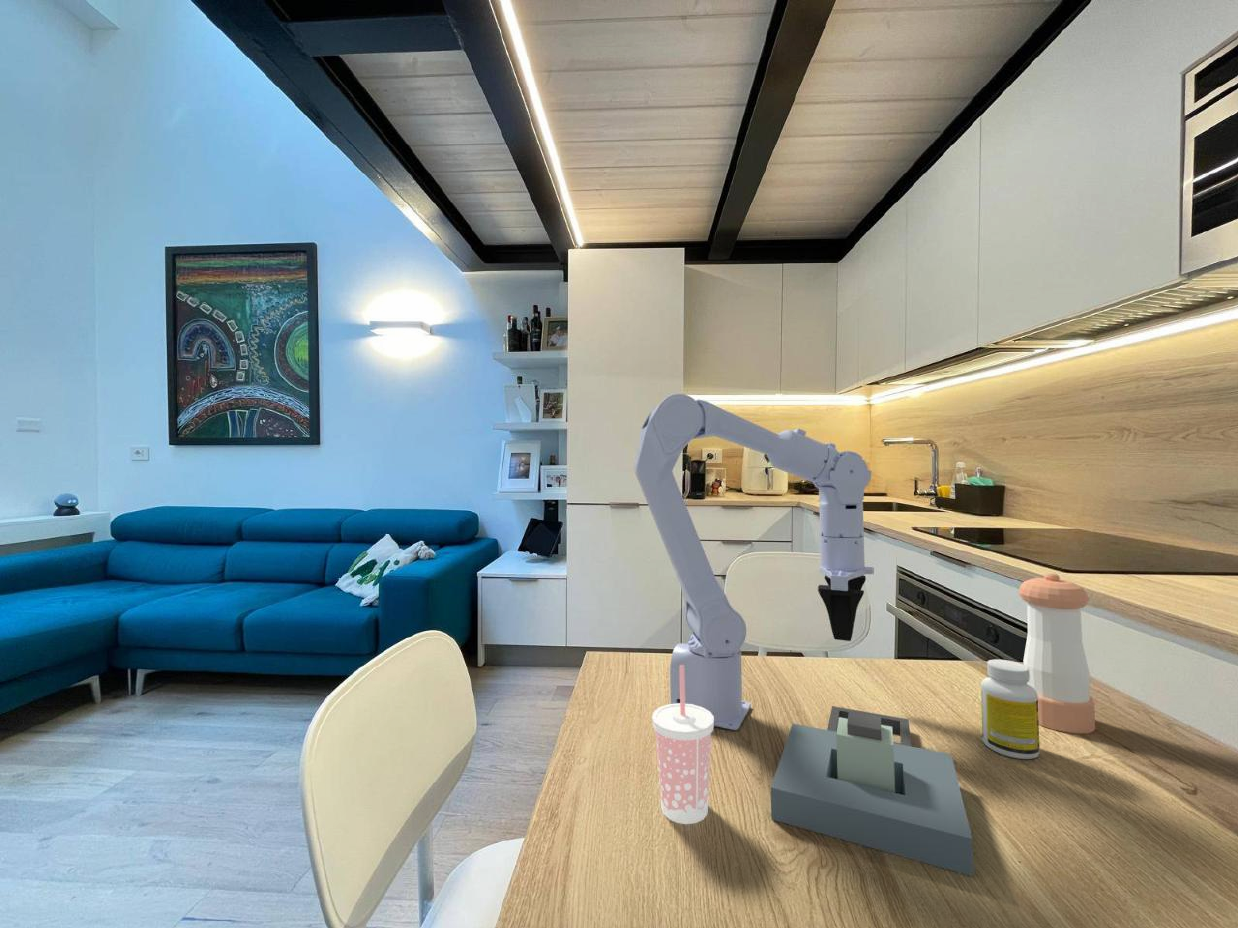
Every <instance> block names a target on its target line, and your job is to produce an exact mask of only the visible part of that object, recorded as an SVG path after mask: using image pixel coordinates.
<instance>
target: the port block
mask: <svg viewBox="0 0 1238 928" xmlns="http://www.w3.org/2000/svg"><path fill="white" fill-rule="evenodd" d="M836 734H837V732H834V731H829V730H827V729H822V728H817V727H814V726H813V727H812V726H808V725H803V724H799V723H792V725H791V727H790V731H789V733H788V737H787V740H786V742H785V744H784V748H783V750H782V752H781V757H780V759H779V761H778V766H777V767H776V770H775V774H774V776H773V778H772V779H773V780H772V783H771V785H770V820H772V821H776V822H779V823H783V824H787V825H789V826H793V827H798V828H800V829H805V830H807V831H812V832H814V833H819V834H822V835H825V836H829V837H833V838H835V839H838V840H842V841H846V842H850V843H853V844H857V845H861V846H863V847H868V848H870V849H875V850H879V851H882V852H885V853H889V854H893V855H896V856H899V857H903V858H906V859H910V860H914V861H917V862H920V863H924V864H928V865H931V866H935V867H938V868H942V869H945V870H949V871H952V872H956V873H960V874H963V875H965V876H966V875H967V876H970V877H973V878H974V875H975V873H974V872H975V870H974V849H973V848H974V846H973V845H974V843H973V836H972V832H971V828H970V823H969V820H968V816H967V813H966V808H965V803H964V800H963V797H962V793H961V787H960V784H959V780H958V777H957V773H956V769H955V763H954V760H953V756H952V754H950V753H945V752H941V751H940V752H939V751H937V750H936V751H935V750H930V749H926V748H921V747H920V748H919V747H915V746H912V747H911V746H906V745H901V744H896V743H897V742H896V743H893V747H894V779H895V793H893V792H889V791H885V790H880V789H876V788H872V787H868V786H863V785H859V784H855V783H851V782H846V781H842V780H838V773H837V738H836ZM896 792H897V793H896Z"/></svg>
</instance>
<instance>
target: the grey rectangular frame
mask: <svg viewBox="0 0 1238 928" xmlns="http://www.w3.org/2000/svg"><path fill="white" fill-rule="evenodd" d="M849 712H855V713H861V714H866V715H872V716H878V717H881V725H885V726H891V727H892V731H893V733H897V734H899V735H900V736H899V737H900V742H895V741H893V743H896V744H901V745H906V746H911V747H913V746H912V738H911V730H910V722H909V718H904V717H903V718H902V717H897V716H891V715H887V714H880V713H874V712H869V711H862V710H856V709H851V708H846V707H840V706H834V705H832V706H831V708H830V715H829V719H828V724H827V727H826V730H829V731H834V732H837V727H838V720H839V717H841V718H846V719H848V714H849Z"/></svg>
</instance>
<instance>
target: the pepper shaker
mask: <svg viewBox="0 0 1238 928" xmlns="http://www.w3.org/2000/svg"><path fill="white" fill-rule="evenodd" d="M1018 594H1019V596H1020V598H1021V599H1022V601H1024V602H1025V603H1026V611H1027V613H1026V614H1027V615H1026V616H1027V617H1026V619H1027V636H1026V637H1027V638H1026V643H1025V649H1024V654H1023V655H1024V656H1023V665H1025V666H1027V667H1028V668H1029V675H1030V679H1029V682H1027V684H1028V685H1030V686H1031V687H1033V688H1034V689H1035V691H1036V692H1037V696H1038V720H1039V726H1041V727H1044V728H1048V729H1051V730H1055V731H1059V732H1062V733H1069V734H1076V735H1077V734H1079V735H1081V734H1090V733H1093V732H1094V731H1095V730H1096V720H1095V719H1096V714H1095V702H1094V699H1093V697H1091V696H1090V695H1091V692H1090V690H1091V687H1090V682H1091V681H1090V679H1091V677H1090V675H1091V673H1090V668H1089V664H1088V661H1087V656H1086V652H1085V649H1084V644H1083V643H1084V642H1083V629H1082V628H1083V627H1082V610H1081V609H1083V608H1086V606H1087V605H1088V602H1089V599H1090V597H1089V596H1088V593H1087V591H1086V590H1085V589H1084V588H1083V586H1081V585H1080V584H1077V583H1074V582H1072V581H1070V580H1066V579H1061V577H1060V575H1059V574H1056V573H1053V572H1048V573H1045V574H1044V576H1043V577H1033V578H1031V579H1028V580H1025V581H1023V582H1022V583H1021V584H1020V586H1019V590H1018Z"/></svg>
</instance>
